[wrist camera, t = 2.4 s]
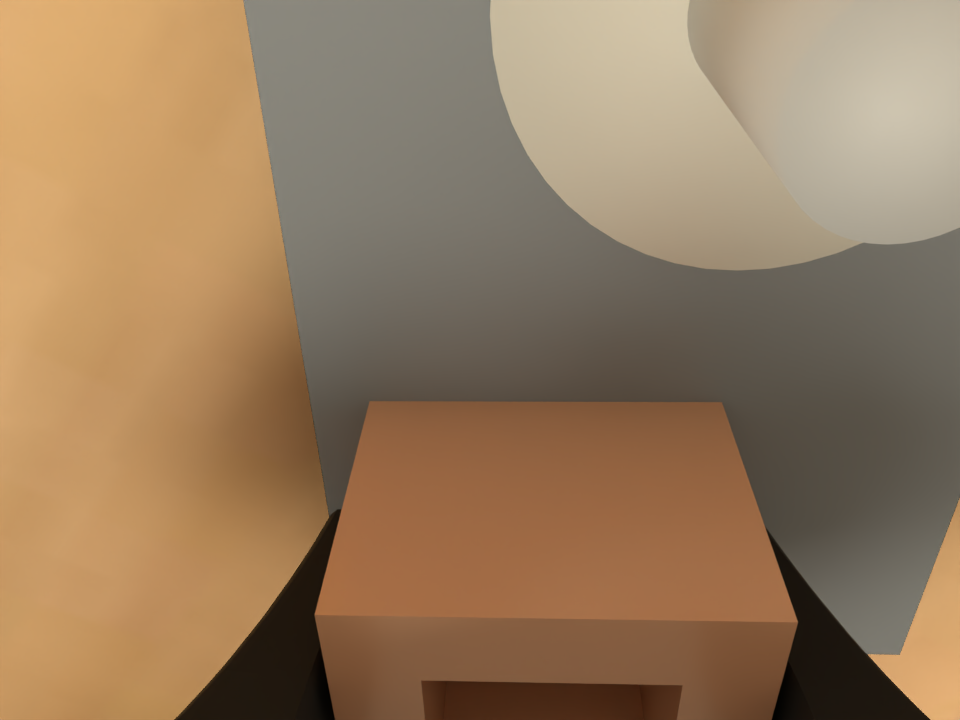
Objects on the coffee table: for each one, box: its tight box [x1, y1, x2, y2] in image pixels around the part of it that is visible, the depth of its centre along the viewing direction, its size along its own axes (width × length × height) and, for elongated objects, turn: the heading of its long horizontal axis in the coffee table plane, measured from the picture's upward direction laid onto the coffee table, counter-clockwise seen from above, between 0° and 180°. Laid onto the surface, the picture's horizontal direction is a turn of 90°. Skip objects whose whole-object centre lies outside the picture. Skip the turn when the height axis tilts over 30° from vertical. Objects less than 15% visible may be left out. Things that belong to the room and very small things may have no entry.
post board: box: [243, 0, 960, 655], centre depth 10 cm, size 14×10×5 cm
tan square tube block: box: [315, 401, 798, 720], centre depth 12 cm, size 5×5×4 cm
